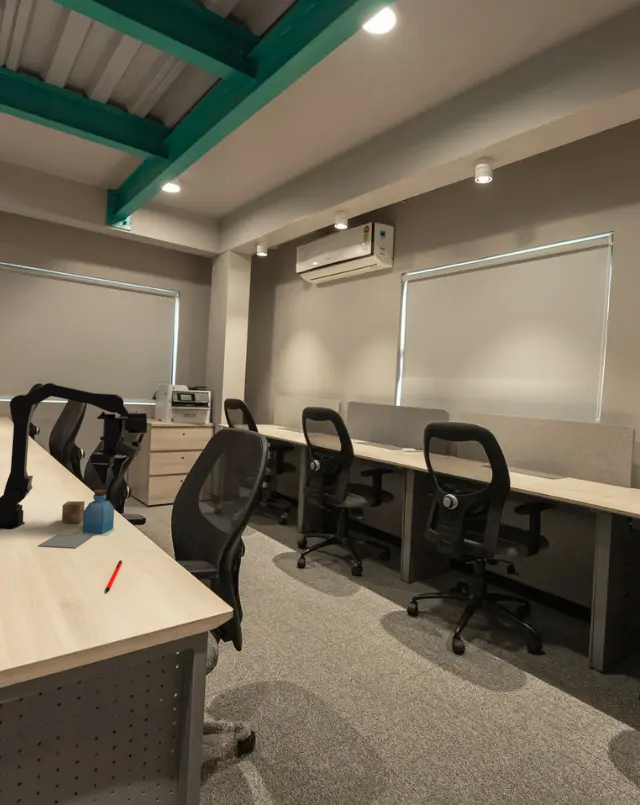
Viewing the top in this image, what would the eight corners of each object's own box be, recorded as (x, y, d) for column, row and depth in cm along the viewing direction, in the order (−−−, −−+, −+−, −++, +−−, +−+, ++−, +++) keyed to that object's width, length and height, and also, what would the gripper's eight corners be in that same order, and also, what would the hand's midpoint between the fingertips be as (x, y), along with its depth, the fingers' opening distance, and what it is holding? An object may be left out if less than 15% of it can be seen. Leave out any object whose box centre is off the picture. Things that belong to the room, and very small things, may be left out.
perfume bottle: (102, 534, 144) (104, 493, 144) (82, 532, 144) (84, 492, 144) (113, 528, 150) (115, 489, 150) (94, 526, 151) (95, 488, 150)
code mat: (75, 534, 143) (75, 534, 143) (90, 526, 152) (90, 525, 152) (106, 536, 143) (106, 535, 143) (119, 527, 152) (119, 527, 152)
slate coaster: (38, 546, 131) (38, 545, 131) (57, 535, 141) (57, 534, 141) (75, 548, 131) (75, 547, 131) (92, 537, 141) (92, 535, 141)
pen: (123, 562, 124) (123, 558, 124) (108, 594, 106) (108, 589, 106) (119, 562, 124) (119, 558, 124) (103, 594, 105) (103, 589, 105)
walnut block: (61, 524, 151) (62, 505, 151) (67, 519, 156) (67, 501, 156) (79, 524, 152) (80, 505, 152) (83, 519, 157) (84, 501, 157)
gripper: (126, 437, 147) (124, 489, 148) (147, 432, 166) (145, 477, 166) (89, 435, 147) (87, 487, 147) (115, 430, 166) (112, 475, 166)
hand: (110, 481), depth 157 cm, fingers open, 9 cm apart
